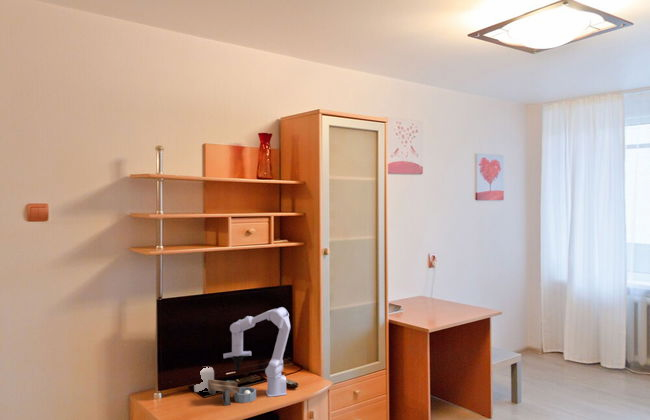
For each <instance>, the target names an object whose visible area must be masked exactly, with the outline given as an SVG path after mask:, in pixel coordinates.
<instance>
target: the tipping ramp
mask: <svg viewBox="0 0 650 420" xmlns="http://www.w3.org/2000/svg"><path fill="white" fill-rule="evenodd" d="M240 388H241V387H239V386H238V382H236V381H234V380H231V379H229V380H228V379H227V380H220V379H219V380H218V379H214V380H210V379H209V380H208V391H207V392H208V393H209V394H212V395H216V392H217V391H218V392H223V391H224V392H225V389H230V393H233V394H234V393H239V389H240Z"/></svg>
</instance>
